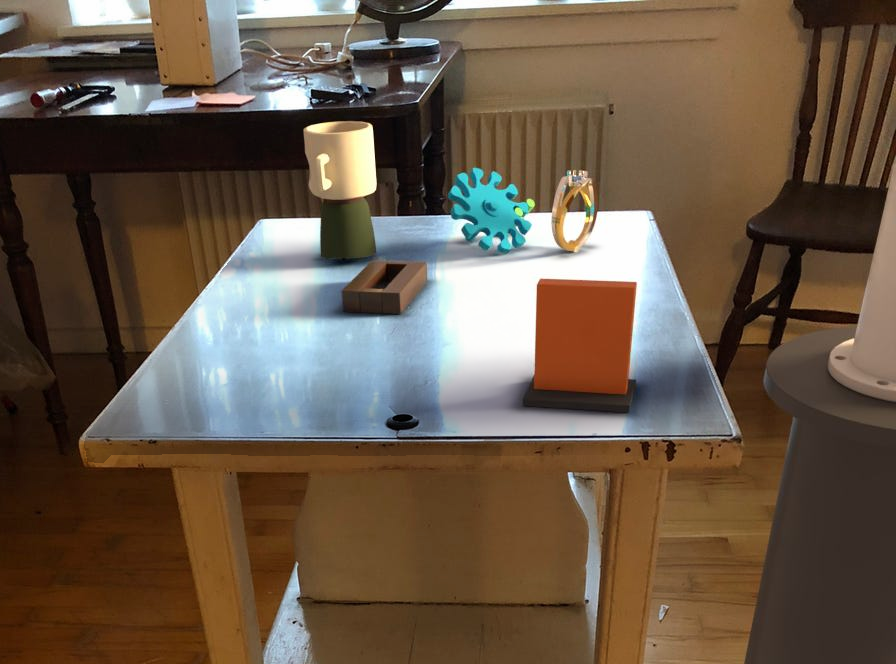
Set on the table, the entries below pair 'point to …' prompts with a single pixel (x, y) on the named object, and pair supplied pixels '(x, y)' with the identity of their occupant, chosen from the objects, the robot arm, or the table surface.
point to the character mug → (343, 186)
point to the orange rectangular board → (584, 335)
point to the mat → (580, 399)
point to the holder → (395, 297)
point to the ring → (561, 210)
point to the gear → (490, 211)
